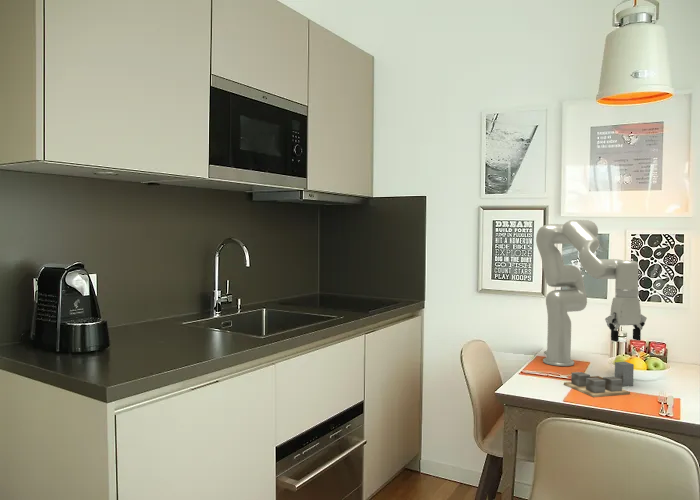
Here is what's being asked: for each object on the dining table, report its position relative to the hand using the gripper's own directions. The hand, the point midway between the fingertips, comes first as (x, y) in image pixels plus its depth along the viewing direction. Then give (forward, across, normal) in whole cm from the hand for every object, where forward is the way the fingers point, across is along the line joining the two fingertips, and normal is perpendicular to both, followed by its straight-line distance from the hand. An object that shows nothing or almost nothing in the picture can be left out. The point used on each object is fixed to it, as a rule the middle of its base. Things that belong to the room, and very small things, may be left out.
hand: (625, 340), depth 209 cm
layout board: (+17, +14, +2) cm, 22 cm away
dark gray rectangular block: (+17, 0, -1) cm, 17 cm away
